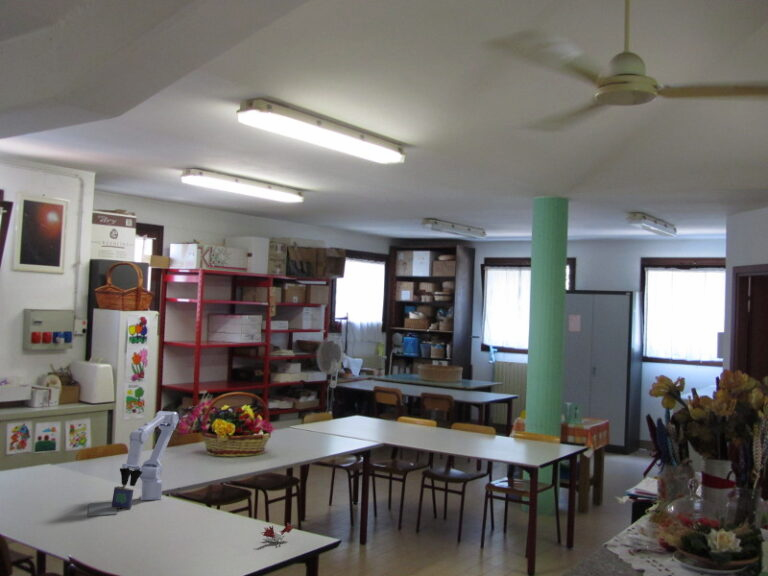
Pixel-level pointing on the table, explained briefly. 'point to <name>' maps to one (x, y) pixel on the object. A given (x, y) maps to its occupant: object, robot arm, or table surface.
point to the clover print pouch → (122, 497)
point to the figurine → (276, 535)
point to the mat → (101, 509)
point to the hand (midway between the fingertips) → (128, 485)
